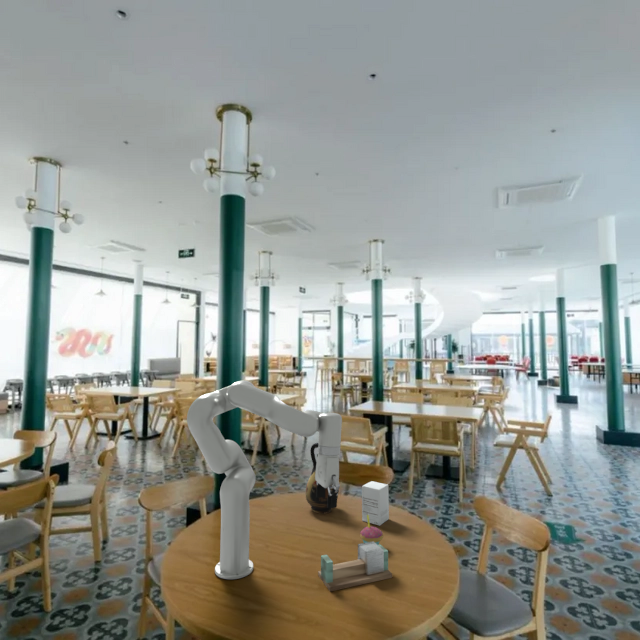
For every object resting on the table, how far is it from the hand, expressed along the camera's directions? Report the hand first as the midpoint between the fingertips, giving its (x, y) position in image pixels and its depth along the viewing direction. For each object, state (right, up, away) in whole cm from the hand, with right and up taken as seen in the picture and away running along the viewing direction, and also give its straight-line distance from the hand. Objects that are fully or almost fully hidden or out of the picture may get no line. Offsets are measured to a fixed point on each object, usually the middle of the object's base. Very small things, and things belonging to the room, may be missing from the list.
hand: (326, 502), depth 138 cm
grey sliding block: (+15, -21, -1) cm, 26 cm away
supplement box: (+22, -27, +42) cm, 55 cm away
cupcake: (+17, -25, +17) cm, 34 cm away
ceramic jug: (-2, -28, +54) cm, 61 cm away
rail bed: (+9, -23, -4) cm, 25 cm away
